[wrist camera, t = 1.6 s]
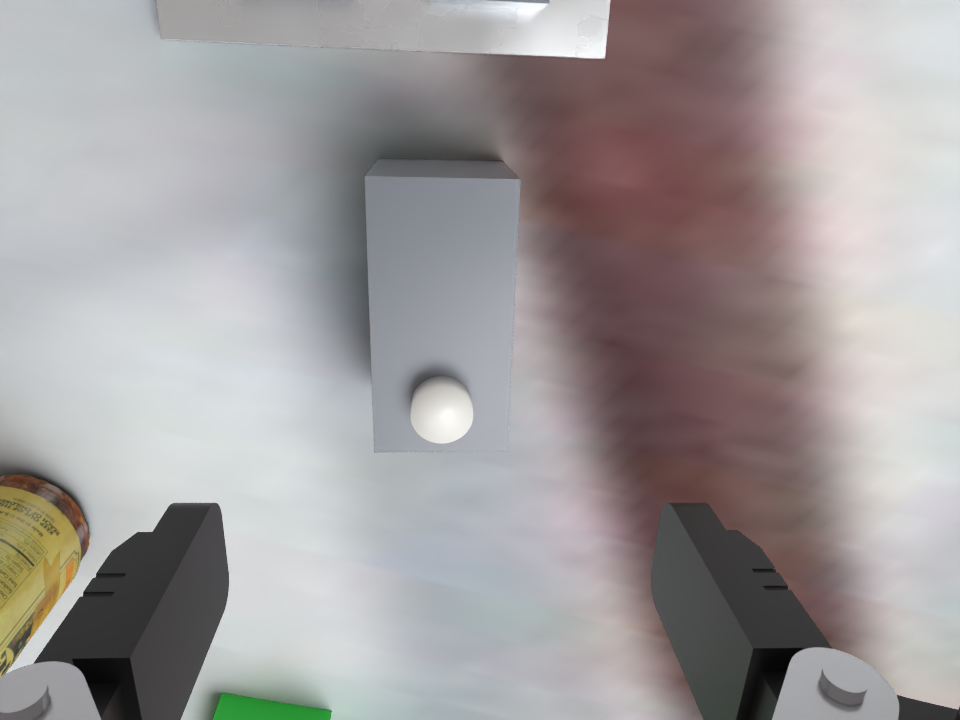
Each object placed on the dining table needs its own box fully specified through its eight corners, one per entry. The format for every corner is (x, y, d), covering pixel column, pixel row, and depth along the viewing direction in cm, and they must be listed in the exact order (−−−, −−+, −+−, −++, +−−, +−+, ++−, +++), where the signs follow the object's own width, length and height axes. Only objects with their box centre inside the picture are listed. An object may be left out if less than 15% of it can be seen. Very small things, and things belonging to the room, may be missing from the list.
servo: (503, 161, 28) (524, 183, 21) (494, 386, 31) (510, 464, 25) (378, 158, 27) (361, 180, 21) (384, 387, 31) (371, 466, 24)
